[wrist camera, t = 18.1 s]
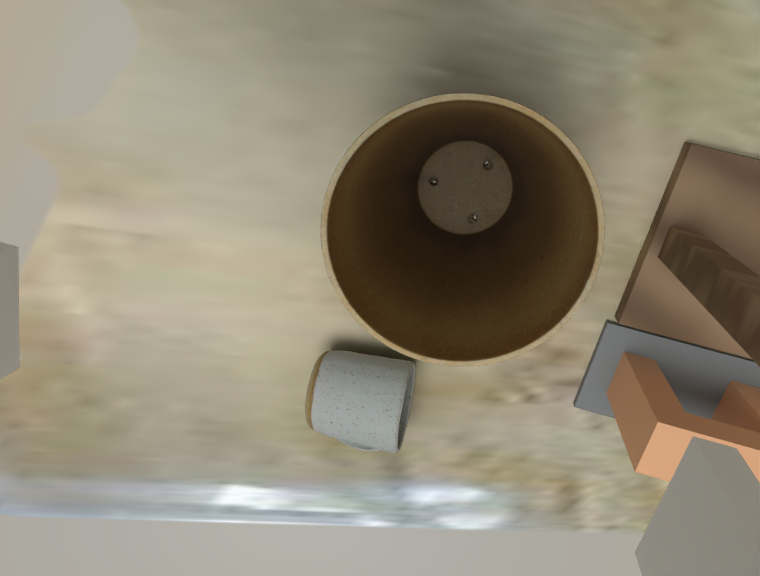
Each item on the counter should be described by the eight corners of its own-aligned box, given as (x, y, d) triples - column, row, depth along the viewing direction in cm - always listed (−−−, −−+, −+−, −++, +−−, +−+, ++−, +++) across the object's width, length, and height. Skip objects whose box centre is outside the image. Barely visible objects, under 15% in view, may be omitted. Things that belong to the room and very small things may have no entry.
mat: (606, 320, 47) (607, 323, 47) (797, 370, 46) (800, 374, 46) (573, 403, 50) (574, 406, 50) (752, 453, 49) (755, 457, 48)
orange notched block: (606, 393, 49) (634, 471, 39) (623, 351, 47) (658, 422, 38) (740, 430, 48) (804, 520, 38) (762, 388, 46) (835, 471, 37)
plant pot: (398, 293, 50) (359, 384, 35) (353, 115, 46) (287, 133, 31) (580, 260, 46) (623, 347, 31) (550, 64, 42) (583, 57, 27)
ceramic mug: (327, 333, 52) (301, 375, 45) (418, 346, 51) (406, 391, 44) (323, 433, 56) (298, 486, 49) (408, 447, 55) (395, 504, 48)
